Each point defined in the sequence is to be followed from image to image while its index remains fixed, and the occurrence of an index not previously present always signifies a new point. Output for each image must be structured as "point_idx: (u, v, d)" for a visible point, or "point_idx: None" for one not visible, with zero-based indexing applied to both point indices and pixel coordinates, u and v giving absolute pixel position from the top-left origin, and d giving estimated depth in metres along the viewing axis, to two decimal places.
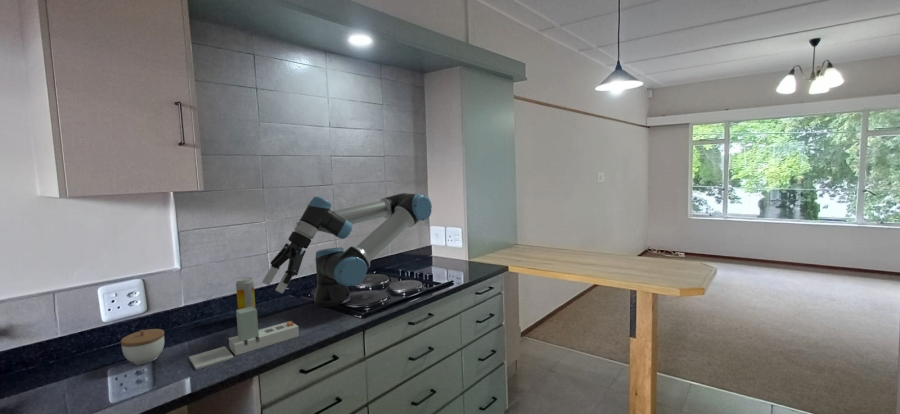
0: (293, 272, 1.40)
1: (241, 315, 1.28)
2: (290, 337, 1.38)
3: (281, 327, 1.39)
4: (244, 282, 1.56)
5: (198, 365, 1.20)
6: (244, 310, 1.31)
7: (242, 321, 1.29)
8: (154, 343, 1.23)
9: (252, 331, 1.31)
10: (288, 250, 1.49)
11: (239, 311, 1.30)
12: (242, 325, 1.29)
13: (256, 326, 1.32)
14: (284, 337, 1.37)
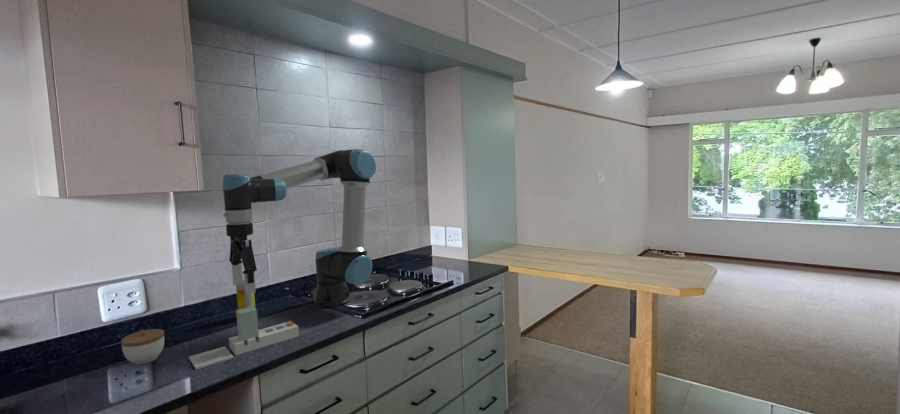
0: (250, 270, 1.22)
1: (241, 315, 1.28)
2: (290, 337, 1.38)
3: (281, 327, 1.39)
4: (244, 282, 1.56)
5: (198, 365, 1.20)
6: (244, 310, 1.31)
7: (242, 321, 1.29)
8: (154, 343, 1.23)
9: (252, 331, 1.31)
10: None
11: (239, 311, 1.30)
12: (242, 325, 1.29)
13: (256, 326, 1.32)
14: (284, 337, 1.37)
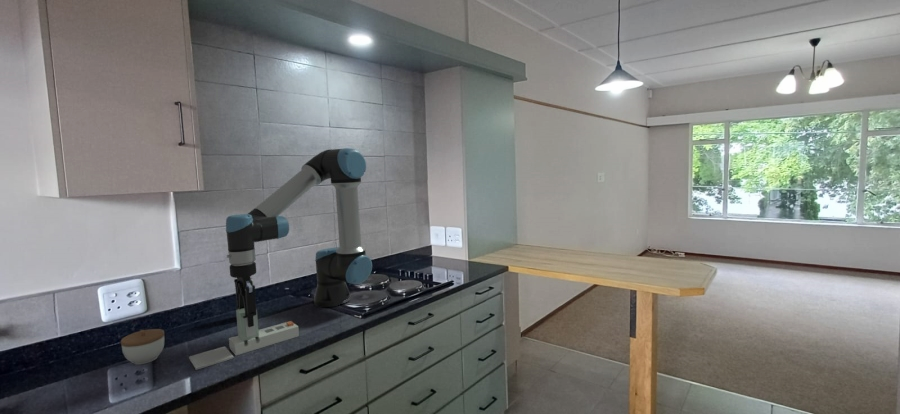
0: (250, 315, 1.27)
1: (241, 315, 1.28)
2: (290, 337, 1.38)
3: (281, 327, 1.39)
4: None
5: (198, 365, 1.20)
6: (244, 310, 1.31)
7: (242, 321, 1.29)
8: (154, 343, 1.23)
9: None
10: None
11: (239, 311, 1.30)
12: (242, 325, 1.29)
13: (256, 326, 1.32)
14: (284, 337, 1.37)
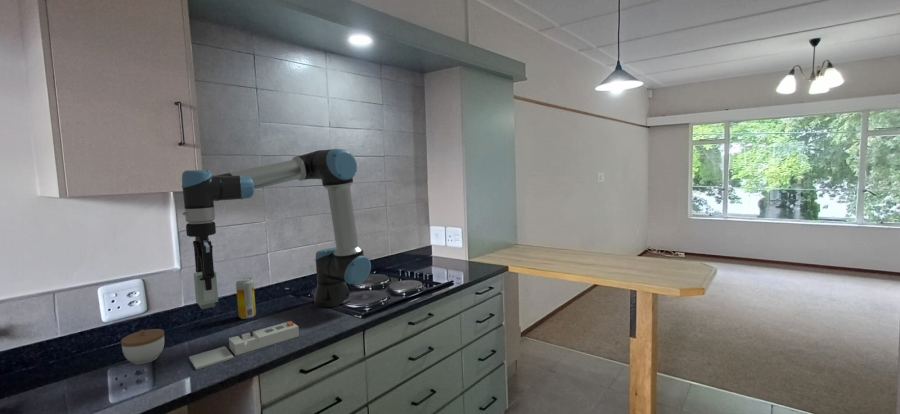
0: (208, 276, 1.18)
1: (198, 277, 1.20)
2: (290, 337, 1.38)
3: (281, 327, 1.39)
4: (244, 282, 1.56)
5: (198, 365, 1.20)
6: None
7: (199, 284, 1.20)
8: (154, 343, 1.23)
9: None
10: None
11: (196, 274, 1.22)
12: (199, 288, 1.20)
13: (215, 290, 1.23)
14: (284, 337, 1.37)
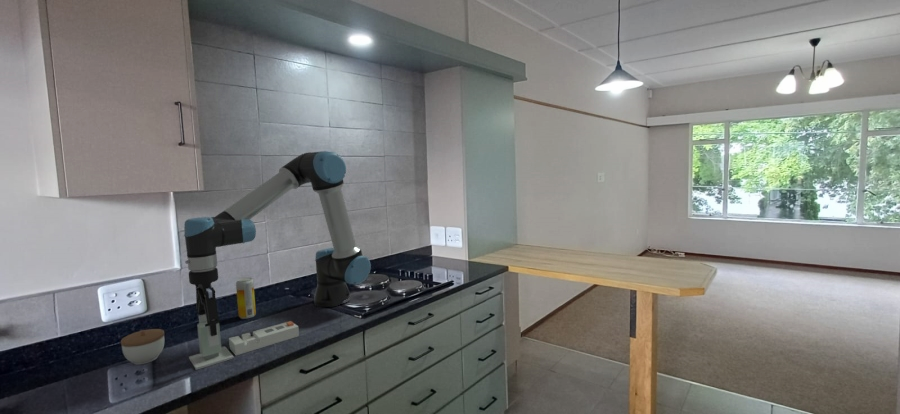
0: (212, 323, 1.17)
1: (202, 329, 1.21)
2: (290, 337, 1.38)
3: (281, 327, 1.39)
4: (244, 282, 1.56)
5: (198, 365, 1.20)
6: (206, 323, 1.24)
7: (202, 336, 1.22)
8: (154, 343, 1.23)
9: (213, 346, 1.24)
10: None
11: (200, 325, 1.23)
12: (203, 340, 1.22)
13: None
14: (284, 337, 1.37)
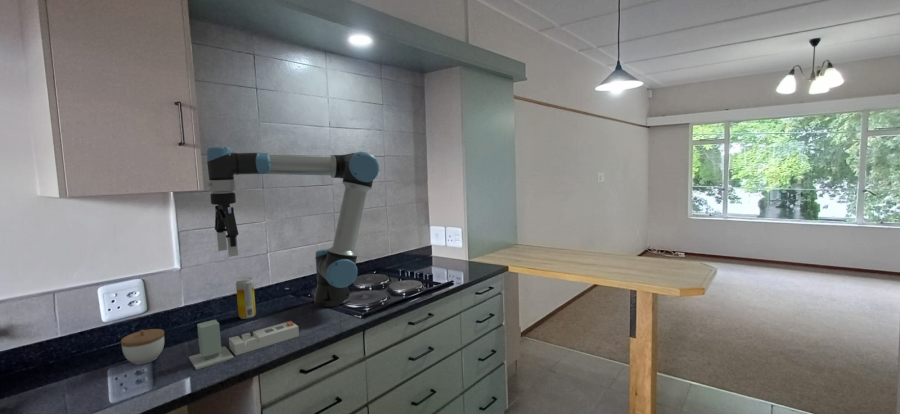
0: (233, 234, 1.34)
1: (202, 329, 1.21)
2: (290, 337, 1.38)
3: (281, 327, 1.39)
4: (244, 282, 1.56)
5: (198, 365, 1.20)
6: (206, 323, 1.24)
7: (202, 336, 1.22)
8: (154, 343, 1.23)
9: (213, 346, 1.24)
10: None
11: (200, 325, 1.23)
12: (203, 340, 1.22)
13: (218, 341, 1.25)
14: (284, 337, 1.37)
